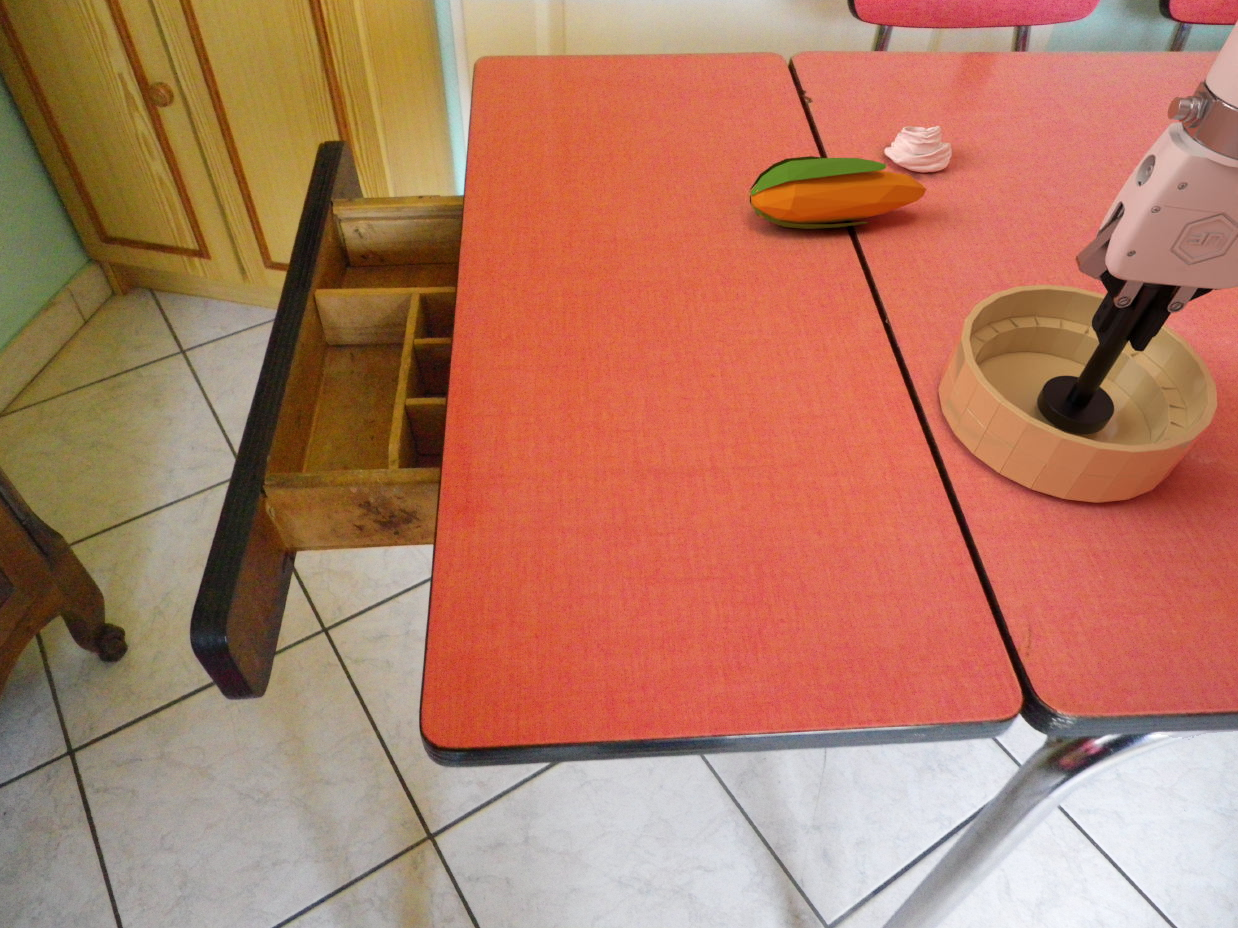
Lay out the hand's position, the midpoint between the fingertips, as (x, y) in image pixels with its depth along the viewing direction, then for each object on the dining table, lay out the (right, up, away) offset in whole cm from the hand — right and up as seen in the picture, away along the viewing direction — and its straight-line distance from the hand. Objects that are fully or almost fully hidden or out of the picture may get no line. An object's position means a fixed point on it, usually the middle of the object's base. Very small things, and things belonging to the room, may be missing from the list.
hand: (1117, 337), depth 69 cm
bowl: (-1, -6, +8) cm, 10 cm away
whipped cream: (-4, +27, +37) cm, 46 cm away
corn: (-16, +17, +28) cm, 37 cm away
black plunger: (0, -6, +7) cm, 9 cm away
